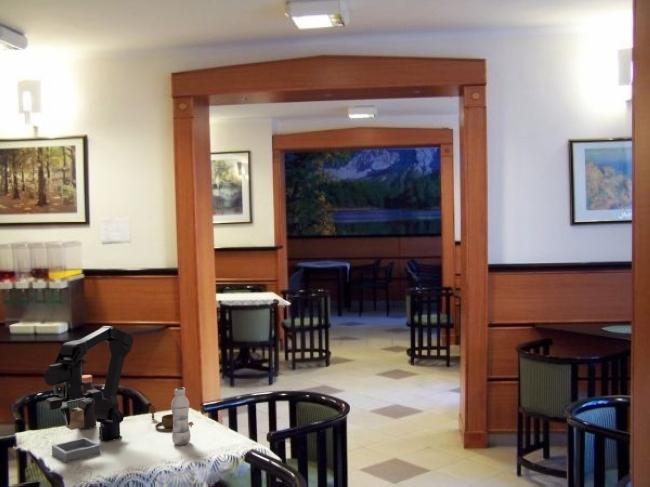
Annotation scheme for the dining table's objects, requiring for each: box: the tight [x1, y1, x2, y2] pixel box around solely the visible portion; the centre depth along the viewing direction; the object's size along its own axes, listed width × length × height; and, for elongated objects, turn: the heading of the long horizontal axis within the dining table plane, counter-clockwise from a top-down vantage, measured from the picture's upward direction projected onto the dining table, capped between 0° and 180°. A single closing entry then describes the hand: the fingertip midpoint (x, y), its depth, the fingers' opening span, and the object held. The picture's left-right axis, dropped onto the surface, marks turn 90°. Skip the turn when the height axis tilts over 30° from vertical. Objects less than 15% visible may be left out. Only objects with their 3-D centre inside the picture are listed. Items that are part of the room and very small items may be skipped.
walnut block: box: [65, 407, 84, 431], centre depth 238 cm, size 4×4×6 cm
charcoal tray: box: [51, 436, 101, 464], centre depth 238 cm, size 12×12×3 cm
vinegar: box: [76, 374, 97, 430], centre depth 269 cm, size 7×7×20 cm
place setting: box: [149, 405, 194, 433], centre depth 270 cm, size 18×20×6 cm
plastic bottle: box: [170, 387, 192, 446], centre depth 246 cm, size 6×7×20 cm
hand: (75, 423), depth 238 cm, fingers closed on walnut block, 4 cm apart
